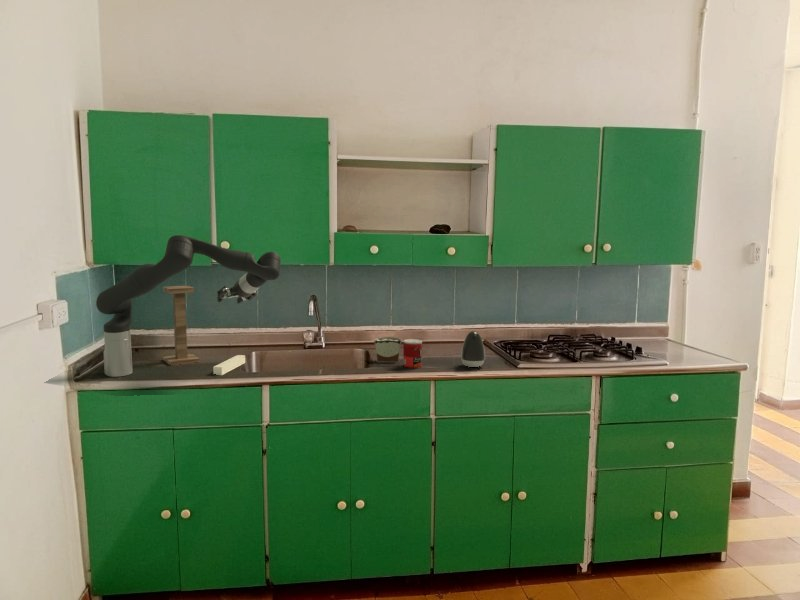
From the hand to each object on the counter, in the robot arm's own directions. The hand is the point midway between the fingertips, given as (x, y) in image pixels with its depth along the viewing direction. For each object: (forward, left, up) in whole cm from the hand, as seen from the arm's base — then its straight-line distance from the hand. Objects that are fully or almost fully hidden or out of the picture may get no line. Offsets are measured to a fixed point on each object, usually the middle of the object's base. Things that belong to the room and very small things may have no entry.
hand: (228, 300), depth 231 cm
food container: (+52, +41, -28) cm, 72 cm away
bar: (0, 0, -28) cm, 28 cm away
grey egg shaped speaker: (+89, +47, -28) cm, 105 cm away
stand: (-27, 0, -28) cm, 39 cm away
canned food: (+66, +36, -28) cm, 80 cm away
